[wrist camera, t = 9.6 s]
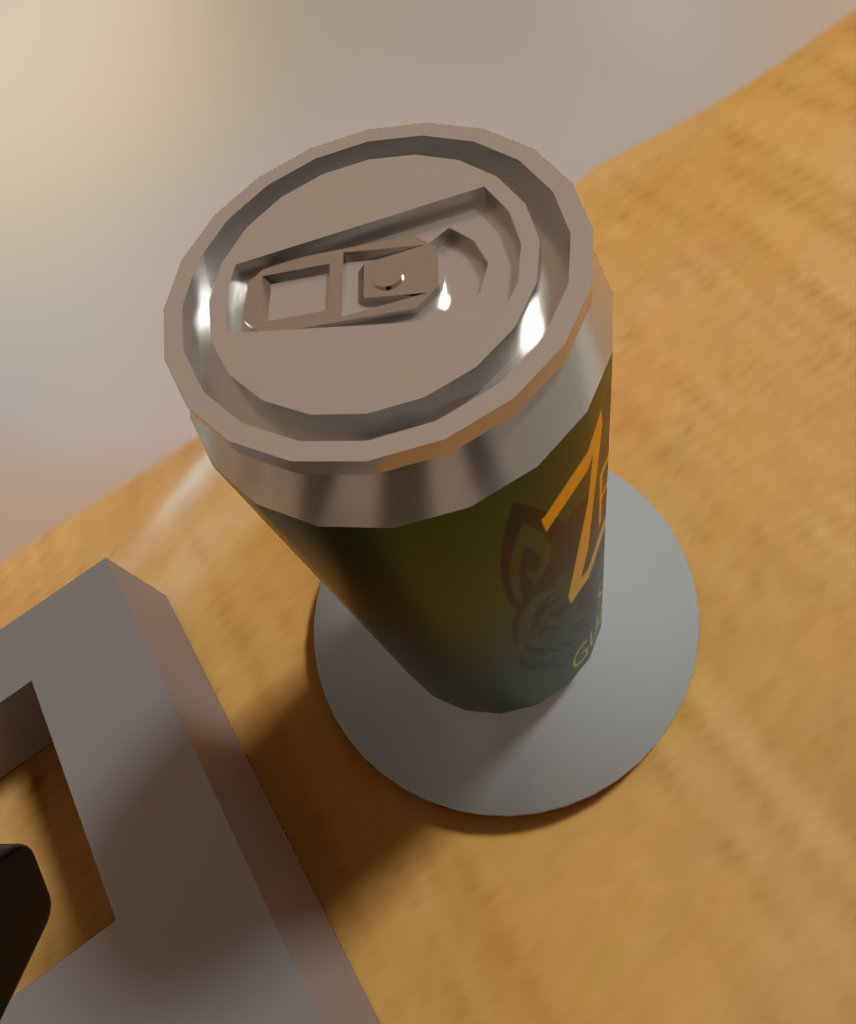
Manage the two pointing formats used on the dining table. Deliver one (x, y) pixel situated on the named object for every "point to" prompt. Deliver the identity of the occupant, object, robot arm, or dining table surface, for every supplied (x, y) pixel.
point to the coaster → (552, 723)
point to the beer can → (416, 395)
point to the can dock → (163, 827)
